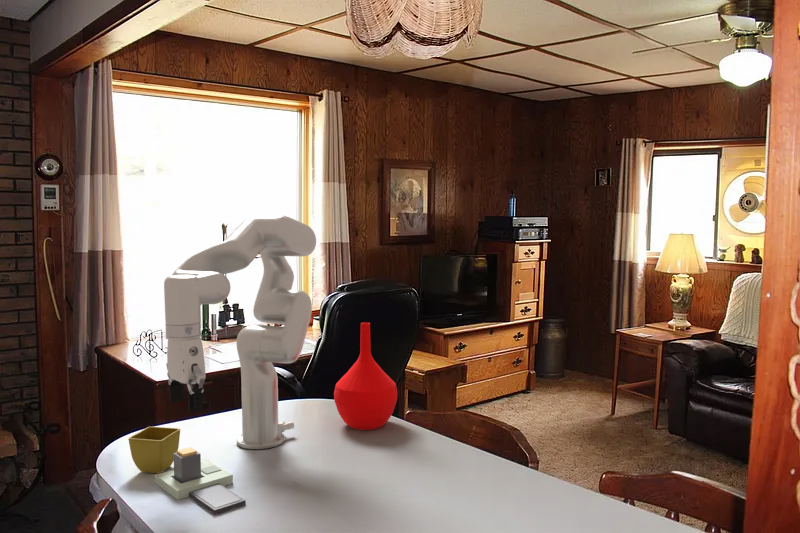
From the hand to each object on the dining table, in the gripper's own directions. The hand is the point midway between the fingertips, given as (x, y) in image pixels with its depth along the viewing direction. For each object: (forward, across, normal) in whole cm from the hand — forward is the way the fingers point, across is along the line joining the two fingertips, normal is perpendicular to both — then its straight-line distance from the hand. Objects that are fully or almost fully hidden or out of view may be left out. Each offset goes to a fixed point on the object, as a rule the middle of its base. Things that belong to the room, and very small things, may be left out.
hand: (186, 406), depth 148 cm
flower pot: (+18, +14, +2) cm, 23 cm away
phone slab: (+18, -12, -1) cm, 22 cm away
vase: (+19, +6, -57) cm, 60 cm away
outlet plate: (+18, 0, -1) cm, 18 cm away
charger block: (+18, 0, 0) cm, 18 cm away
